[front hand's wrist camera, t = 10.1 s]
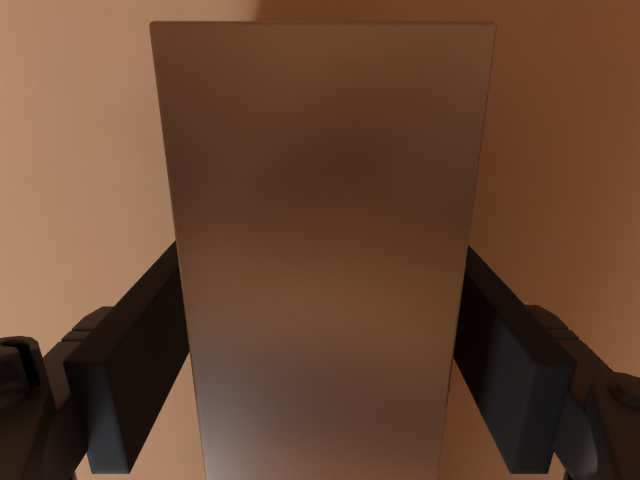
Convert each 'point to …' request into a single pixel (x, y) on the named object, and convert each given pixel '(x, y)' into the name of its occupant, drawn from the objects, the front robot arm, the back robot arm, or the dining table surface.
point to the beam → (322, 235)
